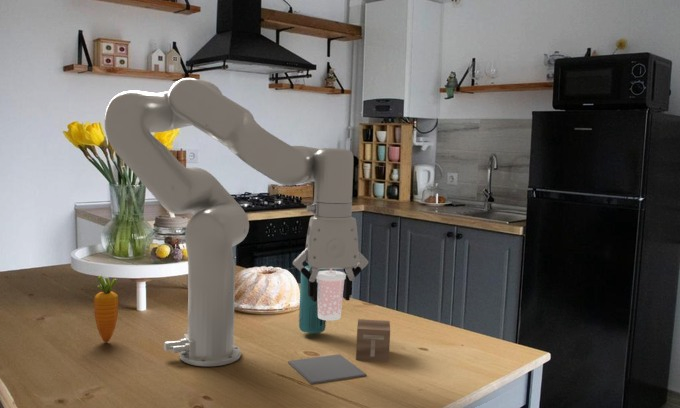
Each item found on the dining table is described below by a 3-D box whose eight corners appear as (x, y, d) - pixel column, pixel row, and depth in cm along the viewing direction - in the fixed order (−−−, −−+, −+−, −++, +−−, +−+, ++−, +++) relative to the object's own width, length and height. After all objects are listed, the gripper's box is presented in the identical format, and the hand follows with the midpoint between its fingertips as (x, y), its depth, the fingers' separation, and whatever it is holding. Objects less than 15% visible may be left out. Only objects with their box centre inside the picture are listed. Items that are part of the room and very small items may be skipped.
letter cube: (388, 362, 136) (390, 330, 135) (355, 360, 136) (357, 328, 136) (387, 351, 143) (389, 320, 142) (356, 349, 143) (358, 319, 143)
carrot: (123, 341, 142) (123, 275, 140) (106, 348, 137) (106, 279, 136) (106, 337, 144) (106, 272, 142) (89, 344, 139) (89, 276, 138)
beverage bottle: (322, 340, 148) (325, 255, 146) (294, 337, 149) (297, 253, 147) (328, 332, 154) (331, 251, 152) (301, 329, 156) (304, 248, 153)
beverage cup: (329, 311, 133) (332, 245, 132) (350, 318, 129) (353, 249, 127) (307, 316, 129) (310, 248, 128) (328, 323, 125) (331, 253, 123)
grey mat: (311, 384, 122) (311, 382, 122) (288, 362, 133) (288, 361, 133) (366, 375, 128) (366, 373, 128) (339, 356, 138) (339, 354, 138)
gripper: (293, 213, 121) (291, 306, 123) (380, 213, 125) (376, 302, 127) (286, 208, 128) (284, 296, 130) (368, 208, 133) (365, 293, 135)
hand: (329, 298), depth 129 cm, fingers closed on beverage cup, 6 cm apart
